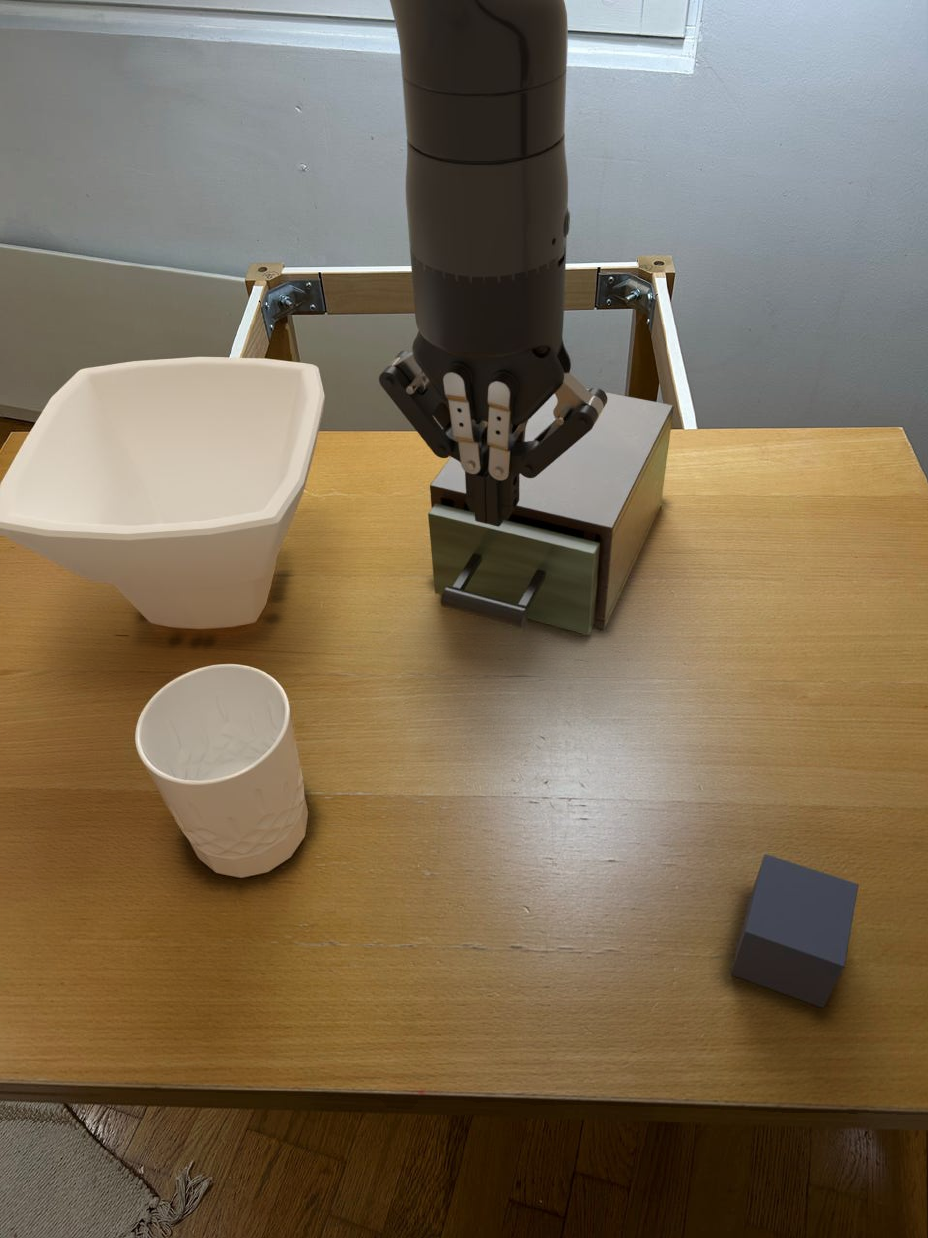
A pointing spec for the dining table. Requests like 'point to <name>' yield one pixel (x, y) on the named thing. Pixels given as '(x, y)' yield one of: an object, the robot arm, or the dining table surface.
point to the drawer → (514, 569)
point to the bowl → (169, 481)
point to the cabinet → (594, 485)
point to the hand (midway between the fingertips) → (493, 515)
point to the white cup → (227, 766)
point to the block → (796, 930)
